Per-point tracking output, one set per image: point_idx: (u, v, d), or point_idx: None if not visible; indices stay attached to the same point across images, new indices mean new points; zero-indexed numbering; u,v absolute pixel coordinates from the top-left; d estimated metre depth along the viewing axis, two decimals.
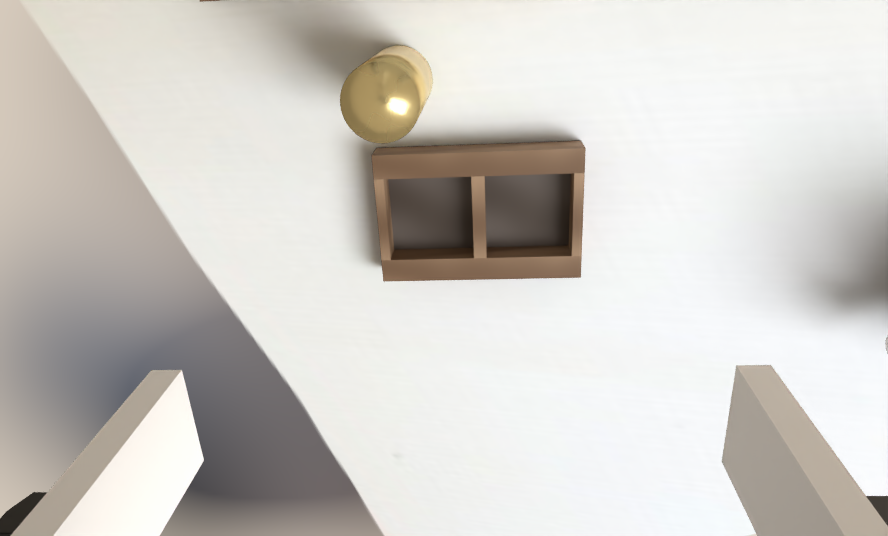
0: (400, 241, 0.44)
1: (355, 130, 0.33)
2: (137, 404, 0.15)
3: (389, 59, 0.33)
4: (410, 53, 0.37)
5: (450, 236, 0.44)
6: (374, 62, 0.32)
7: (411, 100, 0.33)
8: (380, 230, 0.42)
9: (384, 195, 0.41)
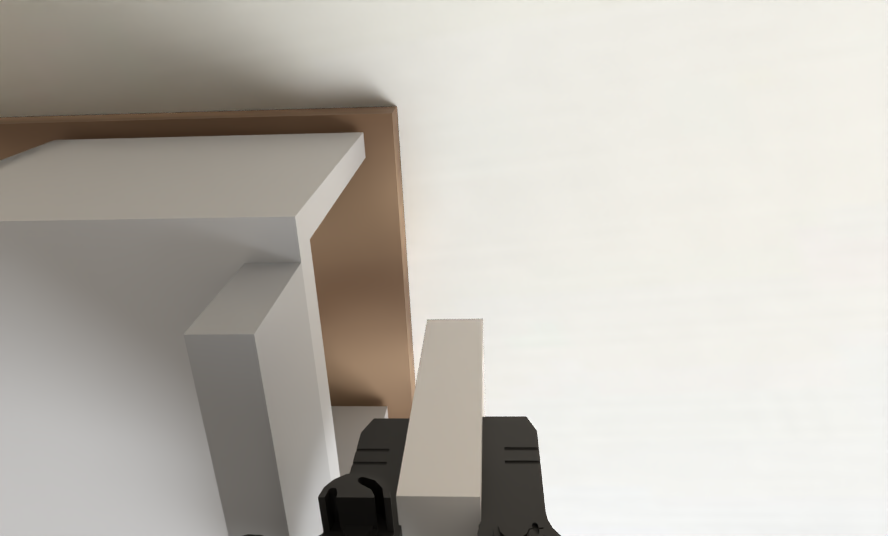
0: None
1: None
2: (435, 346, 0.16)
3: None
4: None
5: None
6: None
7: None
8: None
9: None
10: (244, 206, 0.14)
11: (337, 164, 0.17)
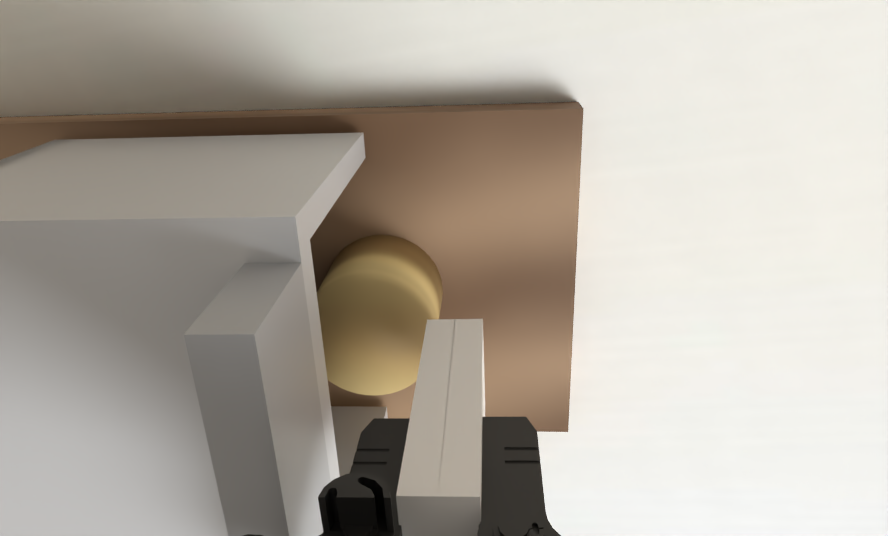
0: None
1: None
2: (435, 346, 0.16)
3: None
4: None
5: None
6: None
7: None
8: None
9: None
10: (244, 206, 0.14)
11: (338, 164, 0.17)
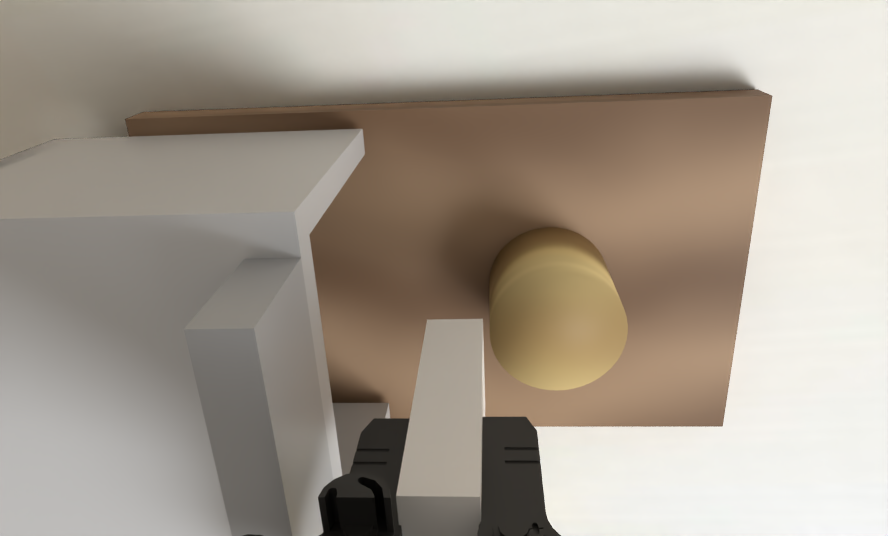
0: None
1: None
2: (435, 346, 0.16)
3: None
4: None
5: None
6: None
7: None
8: None
9: None
10: (243, 202, 0.14)
11: (337, 160, 0.17)
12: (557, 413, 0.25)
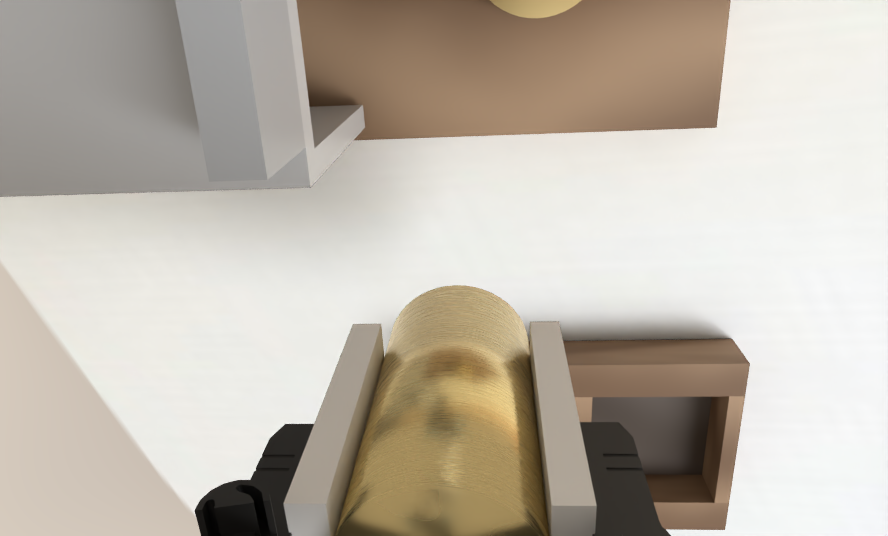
0: None
1: None
2: (355, 351, 0.16)
3: (464, 446, 0.12)
4: (493, 331, 0.16)
5: None
6: (427, 489, 0.11)
7: None
8: None
9: None
10: None
11: None
12: (542, 116, 0.23)
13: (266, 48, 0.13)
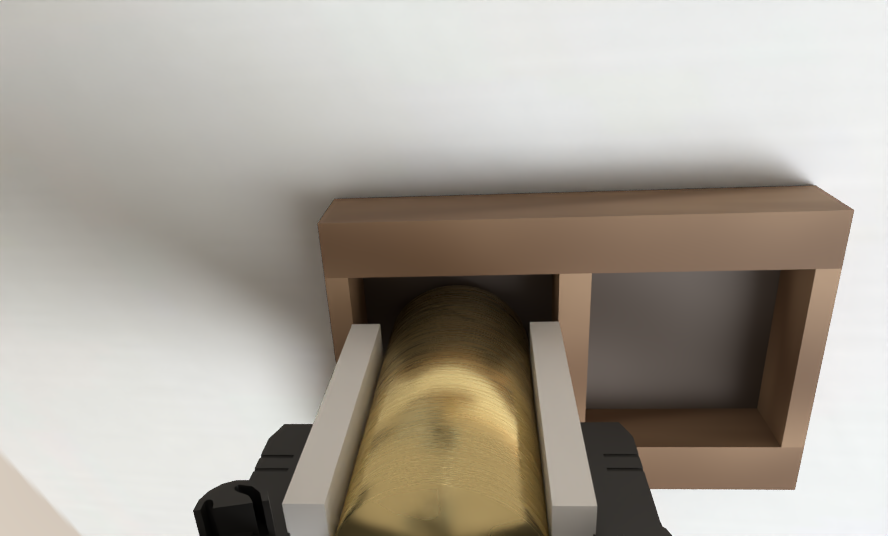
0: None
1: None
2: (354, 351, 0.16)
3: (464, 445, 0.12)
4: (492, 331, 0.16)
5: None
6: (427, 488, 0.11)
7: None
8: None
9: (351, 312, 0.17)
10: None
11: None
12: None
13: None
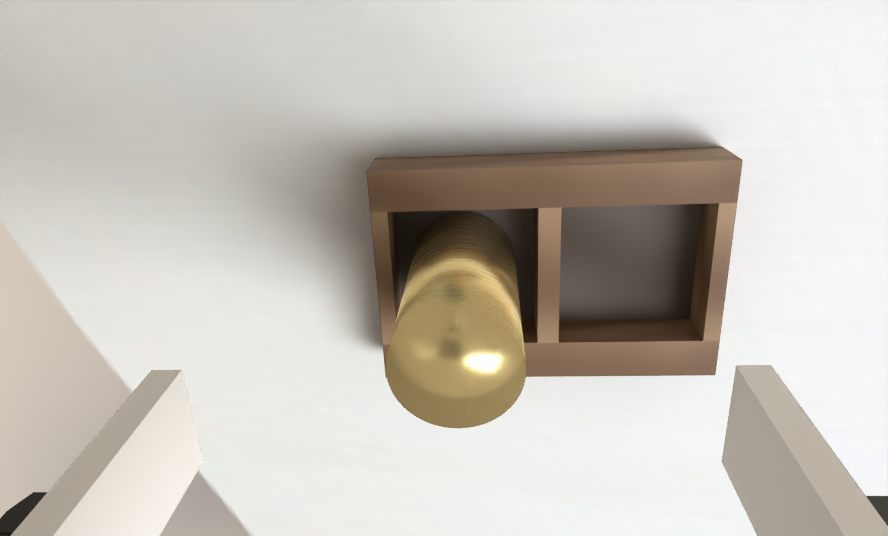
0: None
1: (410, 408, 0.19)
2: (137, 404, 0.15)
3: (470, 291, 0.19)
4: (488, 239, 0.23)
5: None
6: (448, 308, 0.18)
7: (511, 367, 0.19)
8: (381, 296, 0.25)
9: (388, 239, 0.24)
10: None
11: None
12: None
13: None
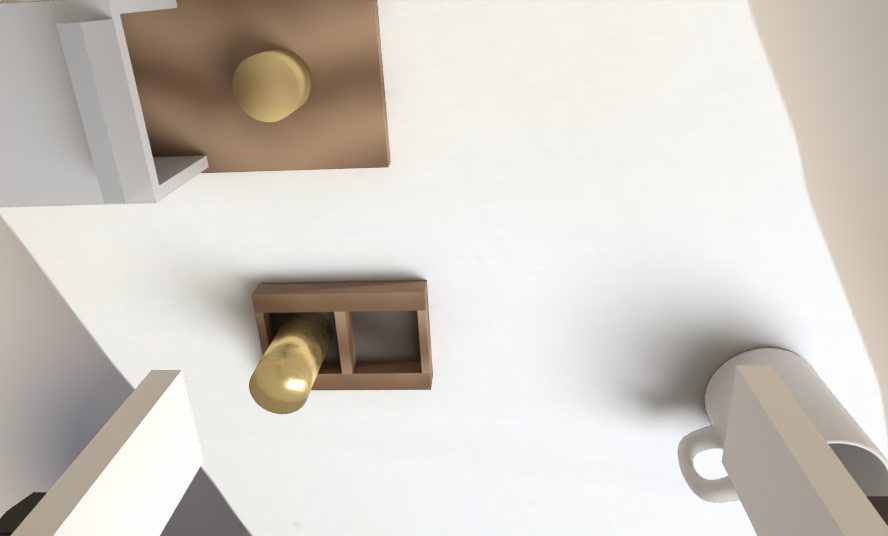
0: None
1: (261, 405, 0.45)
2: (137, 404, 0.15)
3: (286, 355, 0.45)
4: (311, 325, 0.49)
5: None
6: (272, 364, 0.44)
7: (301, 388, 0.44)
8: (263, 351, 0.51)
9: (265, 324, 0.50)
10: None
11: None
12: (299, 161, 0.45)
13: (125, 152, 0.35)
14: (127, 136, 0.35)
